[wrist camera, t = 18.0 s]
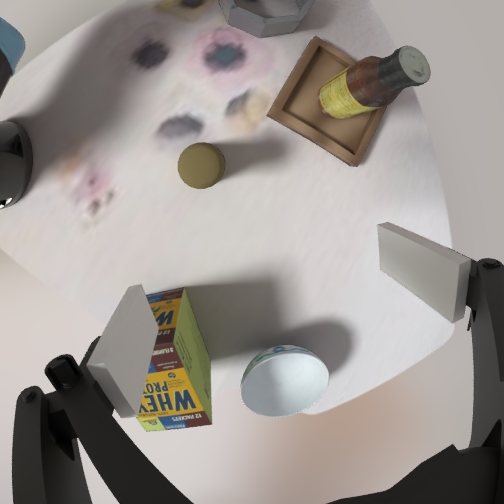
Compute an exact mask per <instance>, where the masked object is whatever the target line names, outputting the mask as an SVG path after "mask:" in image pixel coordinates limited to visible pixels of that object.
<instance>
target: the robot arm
mask: <svg viewBox="0 0 504 504" xmlns="http://www.w3.org/2000/svg"><path fill="white" fill-rule="evenodd" d="M24 50H25V40H24V38H23V36H22V35H21V34H20V33H19V32H18V31H17V30H16V29H15V28H14V27H13V26H12V25H11V24H9V23H8V22H6V21H5V20H4V19H2V18H0V98H1V96H2V94H3V91H4V89H5V87H6V85H7V83H8V81H9V80H10V78H11V76H13V75H14V73H15V68H16V66H17V64H18V62H19V61H20V59H21V57H22V55H23V53H24ZM32 160H33V157H32V147H31V142H30V139H29V137H28V135H27V133H26V131H25V130H24V129H23V127H22V126H20V125H19V124H17V123H15V122H8V121H0V209H3V208H6V207H9V206H11V205H13V204H14V203H16V202H17V201H18V200H19V199H20V197H21V196H22V195H23V193H24V191H25V189H26V187H27V185H28V182H29V179H30V176H31V171H32ZM377 228H378V241H379V258H380V270H381V271H383V272H384V273H386V274H387V275H388V276H390V277H391V278H393V279H394V280H395V281H397V282H398V283H399V284H401V285H402V286H404V287H405V288H406V289H408V290H409V291H410V292H412V293H413V294H414V295H416V296H417V297H418V298H420V299H421V300H422V301H424V302H425V303H426V304H428V305H429V306H430V307H432V308H433V309H434V310H435V311H437V312H438V313H439V314H441V315H442V316H443V317H444V318H446V319H447V320H448V321H450V322H451V323H452V324H453V323H454V322H456V321H458V320H460V319H462V318H463V317H464V313H465V306H466V305H467V306H469V307H470V308H471V313H470V319H469V324H468V329H467V331H469V330H470V327H471V332H472V343H473V360H474V361H473V362H474V403H473V422H472V435H471V441H470V444H469V447H468V448H466V449H463V450H459V451H458V450H457V449H456V447H455V446H454V445H453V444H452V445H450V446H449V447H447V448H446V449H444V450H442V451H441V452H439V453H438V454H436V455H434V456H432V457H431V458H429V459H427V460H426V461H424V462H422V463H421V464H420V465H418V466H417V467H416V468H415V469H414V470H413V471H411V472H410V473H409V474H408V475H407V476H405V477H404V478H403V479H402V480H400V481H399V482H398V483H397V484H395V485H394V486H393V487H391V488H390V489H388V490H386V491H383V492H378V493H373V494H368V495H362V496H356V497H350V498H343V499H339V500H336V501H333V502H330V503H327V504H504V265H503V264H502V263H501V262H500V261H498V260H495V259H490V258H485V259H481V260H479V261H478V262H477V261H475V260H472V259H471V258H469V257H467V256H465V255H463V254H462V255H461V254H460V253H458V252H455V251H454V250H452V249H450V248H447V247H444V246H442V245H440V244H438V243H436V242H433V241H431V240H429V239H427V238H424V237H422V236H420V235H418V234H415V233H413V232H411V231H408V230H406V229H404V228H401V227H399V226H396V225H394V224H392V223H389V222H386V223H383V224H379V225H377ZM158 329H159V327H158V325H157V322H156V320H155V317H154V315H153V313H152V310H151V308H150V305H149V303H148V300H147V297H146V295H145V292H144V290H143V287H142V284H140V285H136V286H132V287H129V288H128V289H127V291H126V293H125V294H124V296H123V298H122V300H121V301H120V303H119V305H118V307H117V308H116V310H115V312H114V314H113V315H112V317H111V319H110V321H109V323H108V325H107V326H106V328H105V330H104V332H103V334H102V336H98V337H97V338H96V339H95V340H94V341H93V342H92V343H91V345H90V347H89V349H88V351H87V352H86V354H85V357H84V358H83V360H82V362H81V364H80V365H79V366H78V365H77V363H76V361H75V359H74V358H73V356H71V355H68V354H65V355H60V356H59V357H56V358H54V359H53V360H52V361H51V362H49V363H48V365H47V366H46V368H45V374H46V376H47V377H48V379H49V380H50V382H51V383H52V385H53V386H54V387H55V389H56V391H54V392H51V393H48V394H44V393H43V391H42V390H41V388H39V387H38V386H31V387H29V388H26V389H24V391H22V392H21V394H20V395H19V397H18V399H17V404H16V411H15V420H14V431H13V432H14V433H13V447H12V486H13V487H12V488H13V503H14V504H92V501H91V497H90V494H89V490H88V487H87V483H86V479H85V475H84V471H83V466H82V462H81V457H80V453H79V447H78V442H77V438H79V440H80V442H81V444H82V445H83V447H84V449H85V451H86V453H87V454H88V456H89V458H90V459H91V461H92V463H93V465H94V466H95V468H96V469H97V471H98V473H99V474H100V476H101V477H102V479H103V480H104V482H105V483H106V485H107V486H108V488H109V489H110V491H111V492H112V494H113V495H114V497H115V498H116V499H117V501H118V502H119V503H120V504H194V503H192V502H191V501H190V500H189V499H188V498H187V497H185V496H184V495H183V494H182V493H181V492H180V491H179V490H178V489H177V488H176V487H175V486H174V485H173V484H172V483H170V481H169V480H168V479H167V478H166V477H165V476H164V475H163V474H162V473H161V472H160V471H159V470H158V469H157V468H156V467H155V466H154V465H153V464H152V463H151V462H150V461H149V460H148V458H147V457H146V456H145V455H144V454H143V453H142V452H141V451H140V450H139V448H138V447H137V446H136V445H135V444H134V443H133V441H132V440H131V439H130V438H129V437H128V435H127V434H126V433H125V432H124V430H123V429H122V428H121V427H120V425H119V424H118V423H117V422H116V420H115V419H114V418H113V416H112V414H113V411H114V409H115V410H116V411H117V413H118V414H119V416H120V417H121V418H129V417H138V415H139V410H140V405H141V401H142V396H143V391H144V387H145V382H146V378H147V374H148V369H149V365H150V361H151V357H152V353H153V349H154V345H155V341H156V337H157V333H158Z"/></svg>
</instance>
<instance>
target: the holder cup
mask: <svg viewBox="0 0 504 504" xmlns="http://www.w3.org/2000/svg"><path fill="white" fill-rule="evenodd" d="M296 2H297V5H298V7H299V9H300V11H299V12H298V14H297V15H290V16H282V17H275V18H268V19H265V18H263V17H261V16H259V15H256V14H254V13H252V12H250V11H247V10H245V9H242V8H240V7H238V6H236V5H235V2H234V0H219V3H220V5H221V8H222V11H223V13H224V16H225V18H226V21H227V23H228V24H229V25H231V26H234V27H236V28H238V29H241V30H243V31H245V32H247V33H250V34H252V35H254V36H256V37H258V38H263V37H269V36H275V35H281V34H288V33H293V32H294V30H295V29H296V28H297V26H298V25H299V23H300V22H301V20H302V19H303V17H304V16H305V14H306V13H307V12H308V10H309V9H310V7H311V6H312V4H313V3H314V2H315V0H296Z"/></svg>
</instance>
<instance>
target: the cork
mask: <svg viewBox="0 0 504 504" xmlns="http://www.w3.org/2000/svg"><path fill="white" fill-rule="evenodd" d="M224 170H225V160H224V156H223V155H222V153H221V152H220V150H219V149H218V148H216V147H215V146H213V145H212V144H208V143H195V144H192V145H190V146H189V147H187V148H186V149H185V150H184V151H183V152H182V154H181V155H180V158H179V161H178V172H179V175H180V177H181V179H182V180H183V181H184V183H186V184H187V185H189V186H190V187H193V188H197V189H205V188H208V187H211V186H213V185H214V184H216V183H217V182H218V181H219V180H220V178H221V177H222V175H223V173H224Z"/></svg>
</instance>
